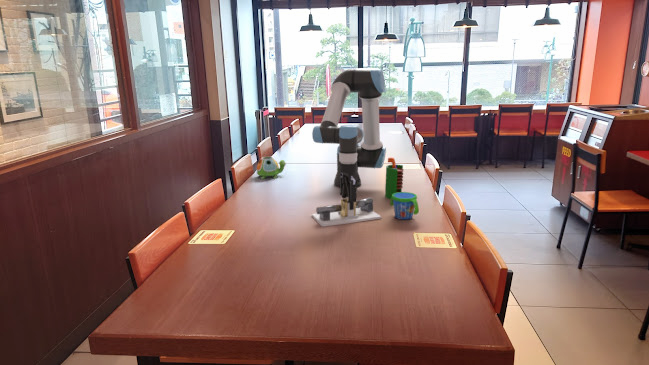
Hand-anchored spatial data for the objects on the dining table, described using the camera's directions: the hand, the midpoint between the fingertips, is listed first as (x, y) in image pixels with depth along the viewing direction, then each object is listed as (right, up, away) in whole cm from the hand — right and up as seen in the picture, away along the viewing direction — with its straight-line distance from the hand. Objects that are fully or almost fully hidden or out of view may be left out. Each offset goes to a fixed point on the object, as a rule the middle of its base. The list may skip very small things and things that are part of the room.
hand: (348, 214), depth 185 cm
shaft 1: (-8, -3, -2) cm, 9 cm away
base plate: (-1, -1, +1) cm, 2 cm away
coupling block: (0, -1, 0) cm, 1 cm away
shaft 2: (+7, 0, +6) cm, 10 cm away
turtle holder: (-43, +17, +74) cm, 87 cm away
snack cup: (+24, -2, +1) cm, 24 cm away
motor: (+25, +6, +31) cm, 40 cm away
